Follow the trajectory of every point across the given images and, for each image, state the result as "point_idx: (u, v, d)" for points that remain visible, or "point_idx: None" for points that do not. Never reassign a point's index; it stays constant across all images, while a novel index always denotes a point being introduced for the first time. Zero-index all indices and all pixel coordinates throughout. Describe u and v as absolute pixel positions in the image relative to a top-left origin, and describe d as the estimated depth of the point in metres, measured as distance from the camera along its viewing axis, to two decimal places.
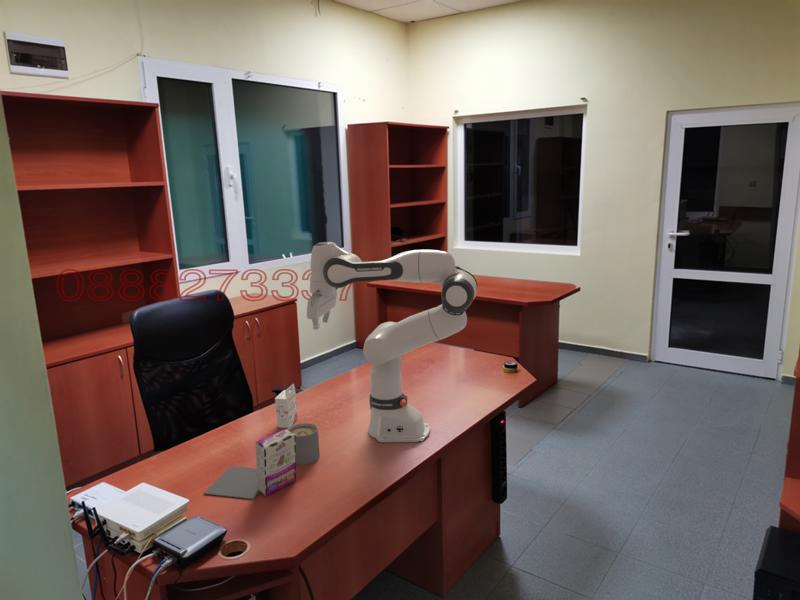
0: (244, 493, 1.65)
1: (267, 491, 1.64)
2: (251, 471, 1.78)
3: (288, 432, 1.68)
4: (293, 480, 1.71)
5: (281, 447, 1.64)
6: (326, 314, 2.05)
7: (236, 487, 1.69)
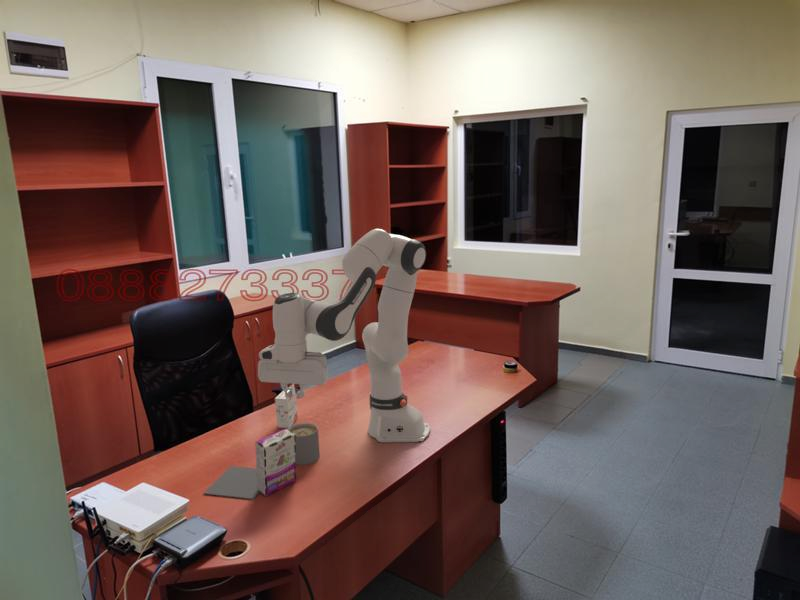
0: (244, 493, 1.65)
1: (267, 491, 1.64)
2: (251, 471, 1.78)
3: (288, 432, 1.68)
4: (293, 480, 1.71)
5: (281, 447, 1.64)
6: (286, 387, 1.61)
7: (236, 487, 1.69)
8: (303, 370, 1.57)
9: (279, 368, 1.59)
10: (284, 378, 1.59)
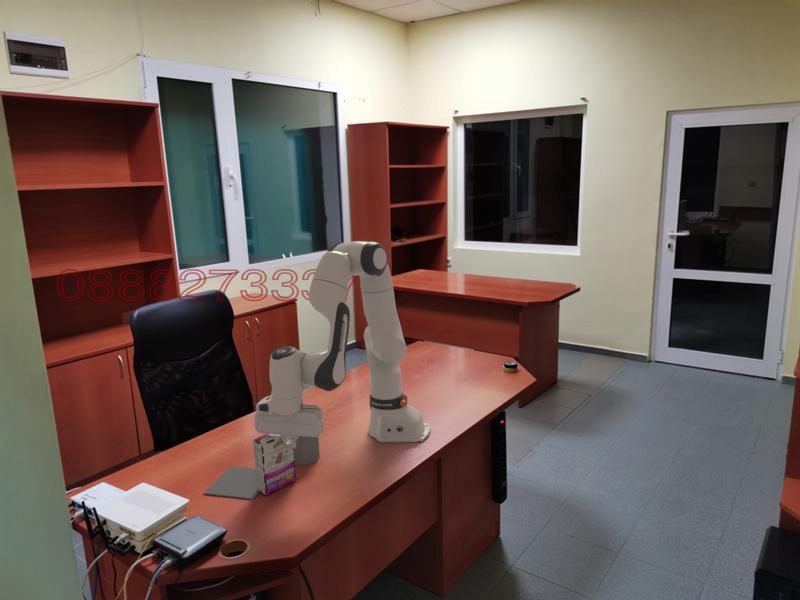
0: (244, 493, 1.65)
1: (267, 490, 1.64)
2: (251, 471, 1.78)
3: None
4: (293, 479, 1.71)
5: (278, 444, 1.65)
6: (286, 438, 1.65)
7: (236, 487, 1.69)
8: (299, 423, 1.61)
9: (275, 420, 1.62)
10: (280, 430, 1.62)
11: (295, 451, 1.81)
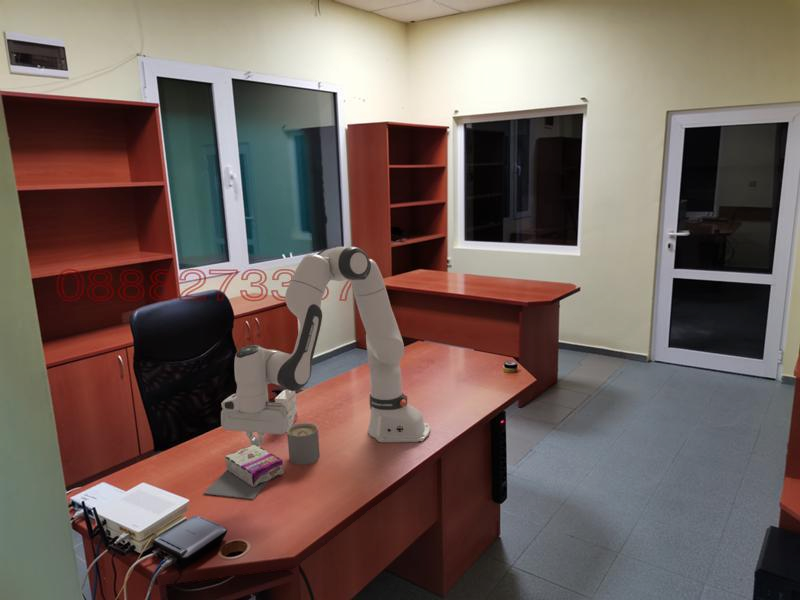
0: (244, 493, 1.65)
1: (250, 471, 1.68)
2: None
3: None
4: (278, 460, 1.74)
5: (243, 451, 1.80)
6: (251, 435, 1.67)
7: (236, 487, 1.69)
8: (264, 420, 1.63)
9: (241, 417, 1.65)
10: (246, 427, 1.65)
11: (295, 451, 1.81)
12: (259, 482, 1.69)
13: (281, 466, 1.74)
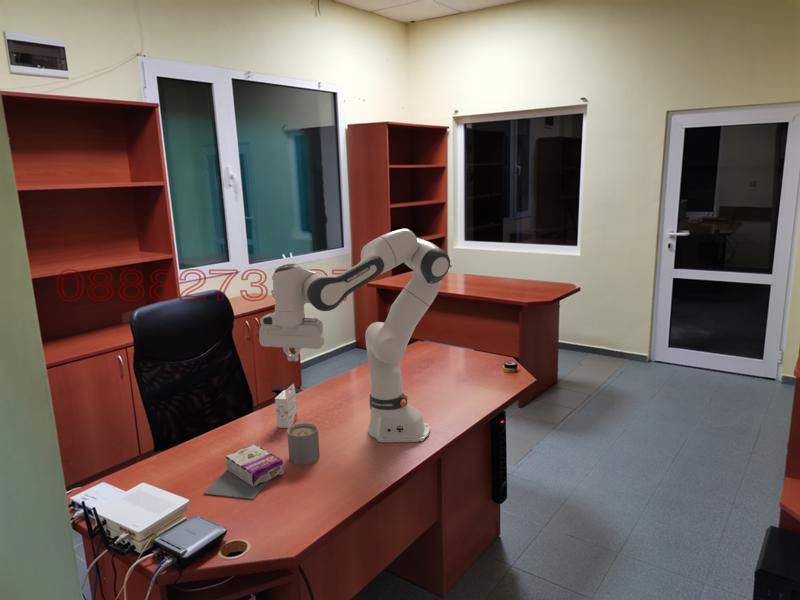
0: (244, 493, 1.65)
1: (250, 471, 1.68)
2: None
3: None
4: (278, 460, 1.74)
5: (243, 451, 1.80)
6: (288, 352, 1.74)
7: (236, 487, 1.69)
8: (301, 335, 1.70)
9: (278, 333, 1.72)
10: (283, 342, 1.72)
11: (295, 451, 1.81)
12: (259, 482, 1.69)
13: (281, 466, 1.74)
